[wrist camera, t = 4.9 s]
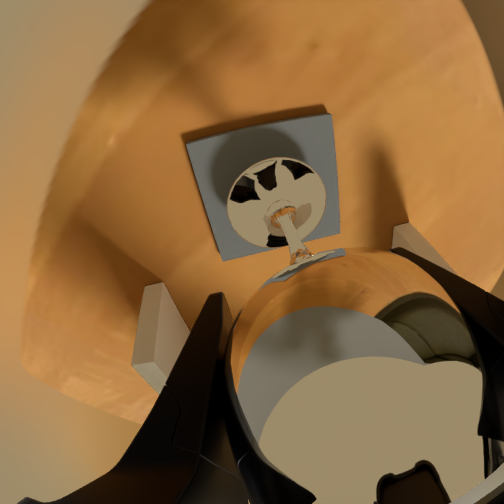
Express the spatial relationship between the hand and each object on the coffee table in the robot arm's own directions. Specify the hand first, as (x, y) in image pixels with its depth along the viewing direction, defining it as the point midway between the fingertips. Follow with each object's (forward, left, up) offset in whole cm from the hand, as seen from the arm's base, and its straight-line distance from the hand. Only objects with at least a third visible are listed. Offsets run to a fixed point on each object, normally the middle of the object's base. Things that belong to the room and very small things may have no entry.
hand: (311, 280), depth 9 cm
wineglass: (0, 0, -5) cm, 5 cm away
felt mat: (0, 0, -7) cm, 7 cm away
